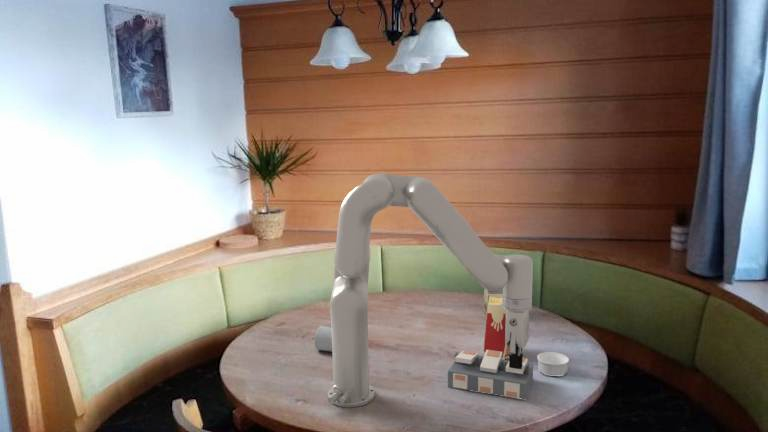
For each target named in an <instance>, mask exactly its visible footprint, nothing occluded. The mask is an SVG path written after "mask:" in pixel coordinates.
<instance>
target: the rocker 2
mask: <svg viewBox="0 0 768 432" xmlns="http://www.w3.org/2000/svg"><path fill="white" fill-rule="evenodd" d="M527 363H528V358H526V357H523V362H522V368H521V369H516V368H510V367H509V362H508V364H507V366H506V372H512V373H518V374H523V372H524V370H525V368H526V365H527Z"/></svg>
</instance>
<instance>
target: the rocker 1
mask: <svg viewBox="0 0 768 432" xmlns="http://www.w3.org/2000/svg"><path fill="white" fill-rule="evenodd" d="M476 356H479V352H476V351H471V350H462V351H461V352H460V353H458V355H457V356H456V357H455V356H454V362H460V363H467V364H471V363H472V362H473V361H475V357H476Z"/></svg>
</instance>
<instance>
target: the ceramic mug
mask: <svg viewBox="0 0 768 432" xmlns="http://www.w3.org/2000/svg"><path fill="white" fill-rule="evenodd" d="M314 347H315V350H318V351H322V352H323V351H325V352H329V353H330V352H331V353H332V330H331V327H330V326H324V325H320V326H318V328H317V330H316V332H315V336H314Z"/></svg>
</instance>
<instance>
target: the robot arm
mask: <svg viewBox="0 0 768 432" xmlns="http://www.w3.org/2000/svg"><path fill="white" fill-rule="evenodd" d="M388 207H400V208H401V207H403V208H409V209H410V210H412V212H413V213H414V214H415V215H416V216H417V218H418V219H419V220H421V222H422V223H423V224H424V225H425V227H427V228H428V230H430V231H431V233H432V234H433V235H434V236H435V237H436V238H437V240H438V241H439V242H440V243H441V244H442V245H443V246H444V248H445V249H447V251H448V252H450V254H452V255H453V256H454V257H455V258H456V260H457V261H458V262H459V263H460V264H461V265H462V266H463V267H464V268H465V270H466V271H467V272H468V274H470V275H471V277H473V278H474V279H475V281H476V282H477V283H478V284H479V285H480V286H481V287H482V288H483V289H484V288H485V289H486V290H489V291H498V290H501V289H502V288H503V308H504V309H506V326H505V344H506V346H507V347H508V346H509V344H510V354H509V358H508V360H509V367H510V368H516V369H521V368H522V362H523V358H524V356H523V350H524V349H525V348H526V346H527V344H528V341H529V339H530V311H531V310H532V309H533V279H534V278H533V276H534V275H533V273H534V271H533V270H534V269H533V268H534V263H533V259H532V258H531V257H530V256H529V255H525V254H517V253H515V254H509V255H507V254H506V255H501V254H495V253H493V252H492V251H491V250H490V249H489V248H488V247H487V245H486V244H485V243H484V242H483V240H482V239H481V238H480V237H479V236H478V235H477V233H476V232H475V230H474V229H473V228H472V226H471V224H470V223H469V222H468V221H467V220H466V219H465V218H464V216H463V215H462V214H461V213H460V212H459V211H458V210H457V209H456V208H455V206H454V205H453V204H452V203H451V202H450V201H449V200H448V198H446V196H445V195H444V194H443V193H442V192H441V190H439V188H438V187H437V186H436V185H435V184H434V183H433V182H432V181H431V180H430V179H429V178H426V177H421V176H411V175H410V176H409V175H400V174H399V175H398V174H389V173H373V174H371V175H368V176H367V177H365V179H364V180H363V182H362V183H361V184H359V185H357V186H356V187H354V188H352V190H350V192H348V193H347V195H346V196H345V198H344V199H343V201H342V203H341V206H340V208H339V212H338V213H339V214H338V221H337V230H336V231H337V232H336V244H335V250H334V253H333V254H334V255H333V262H334V263H333V264H334V269H333V270H334V271H333V284H332V285H333V286H332V291H331V295H330V302H329V313H330V324H331V327H330V328H331V330H332V352H331V355H332V380H333V381H332V382H333V383H332V384H333V386H331V388H330V389H328V391H327V399H326V400H327V403H328V404H329V405H331V406H332V405H336V406H339V407H343V408H357V407H361V406H365V405H367V404H369V403H371V402H372V401H373V400H374V398H375V396H376V391H375V388H374V387H373V386H372V385H370V377H369V375H370V372H369V371H370V369H369V368H370V367H369V366H370V365H369V364H370V363H369V329H368V328H369V327H368V326H369V325H368V324H369V323H368V310H369V309H368V307H369V305H368V304H369V302H368V301H369V299H368V298H369V297H368V295H369V294H368V290H369V288H368V287H369V271H370V263H371V262H370V261H371V248H370V245H371V244H370V243H371V242H370V241H371V231H372V222H373V219H374V217H375V216H376V214H377V213H379V212H380V211H383V210H385V209H387V208H388Z"/></svg>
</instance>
